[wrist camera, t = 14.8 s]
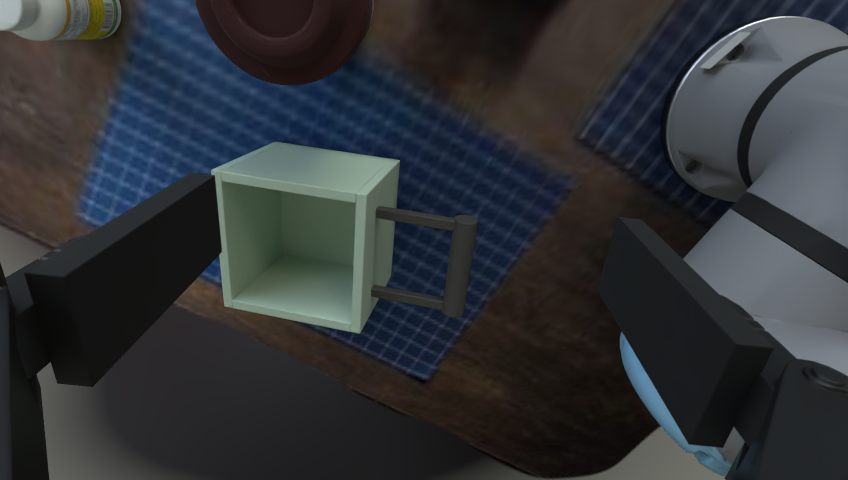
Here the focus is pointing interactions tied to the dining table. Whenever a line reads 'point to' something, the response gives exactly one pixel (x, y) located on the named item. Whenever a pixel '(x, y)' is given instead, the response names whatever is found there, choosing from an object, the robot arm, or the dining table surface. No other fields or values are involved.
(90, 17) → the supplement bottle
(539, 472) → the dining table surface
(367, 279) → the pale green square box
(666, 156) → the robot arm
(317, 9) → the coffee cup
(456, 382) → the dining table surface
